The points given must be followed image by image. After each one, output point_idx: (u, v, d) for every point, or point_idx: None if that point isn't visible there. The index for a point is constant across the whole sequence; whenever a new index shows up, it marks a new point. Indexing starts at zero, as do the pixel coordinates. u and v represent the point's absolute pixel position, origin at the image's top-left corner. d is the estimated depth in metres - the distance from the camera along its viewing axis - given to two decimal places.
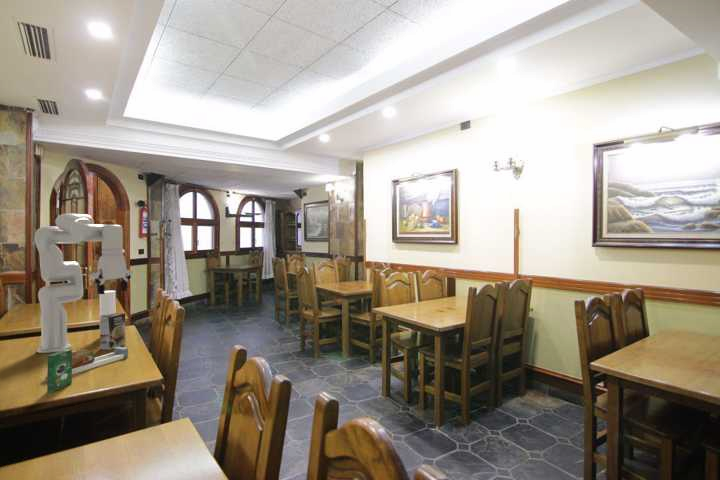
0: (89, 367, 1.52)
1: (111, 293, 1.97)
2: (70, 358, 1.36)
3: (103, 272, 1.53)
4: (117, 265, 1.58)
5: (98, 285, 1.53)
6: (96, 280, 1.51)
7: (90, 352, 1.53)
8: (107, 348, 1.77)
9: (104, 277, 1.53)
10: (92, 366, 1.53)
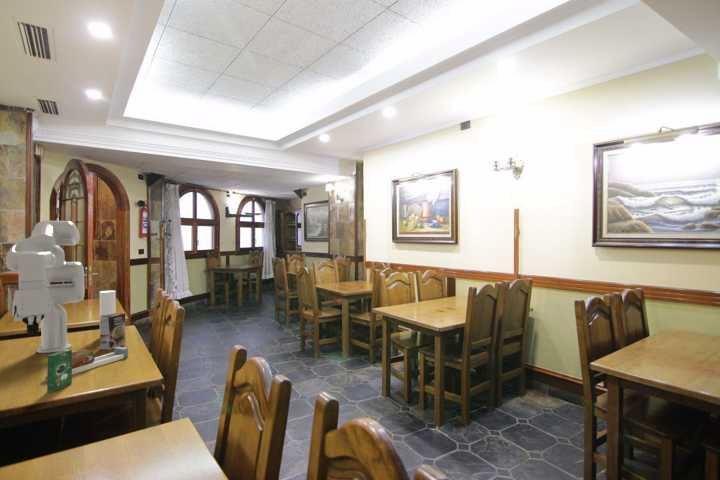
0: (89, 367, 1.52)
1: (111, 293, 1.97)
2: (70, 358, 1.36)
3: (21, 315, 1.32)
4: (37, 299, 1.36)
5: (27, 325, 1.35)
6: (24, 320, 1.33)
7: (90, 352, 1.53)
8: (107, 348, 1.77)
9: (19, 315, 1.31)
10: (92, 366, 1.53)
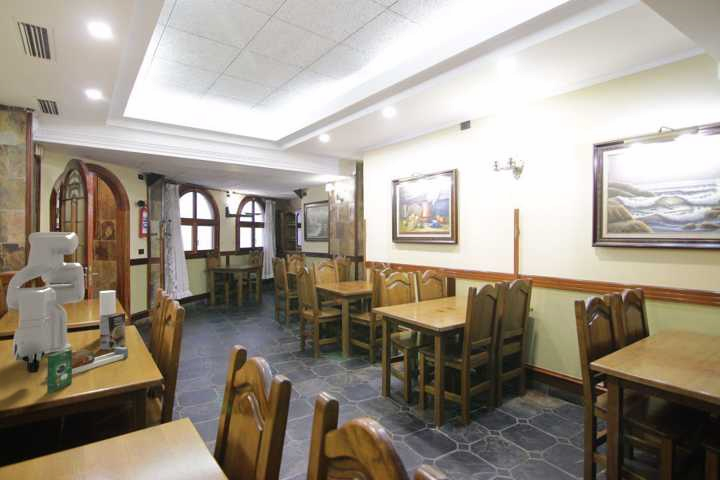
0: (89, 367, 1.52)
1: (111, 293, 1.97)
2: (70, 358, 1.36)
3: (21, 354, 1.32)
4: (38, 337, 1.36)
5: (27, 363, 1.35)
6: (24, 358, 1.33)
7: (90, 352, 1.53)
8: (107, 348, 1.77)
9: (20, 354, 1.31)
10: (92, 366, 1.53)
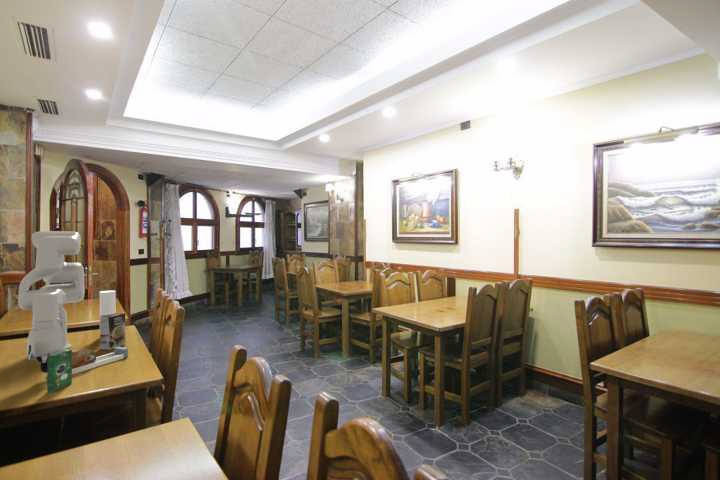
0: (89, 367, 1.52)
1: (111, 293, 1.97)
2: (70, 358, 1.36)
3: (35, 354, 1.36)
4: (51, 338, 1.40)
5: (41, 363, 1.39)
6: (38, 358, 1.37)
7: (92, 351, 1.54)
8: (107, 348, 1.77)
9: (34, 354, 1.35)
10: (92, 366, 1.53)
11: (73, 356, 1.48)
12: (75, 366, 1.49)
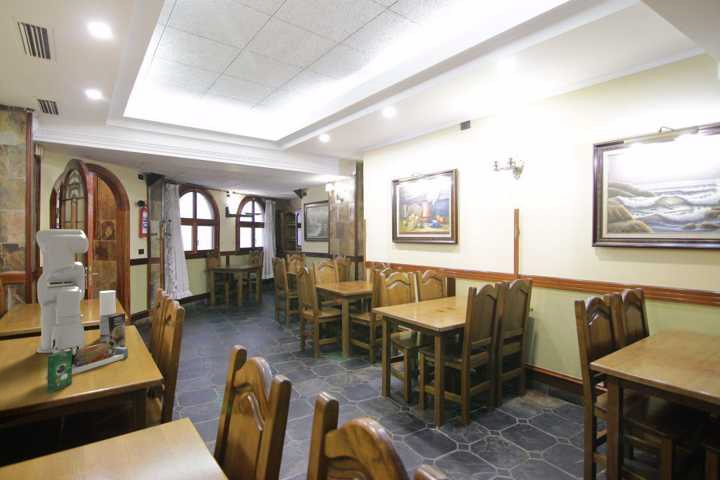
0: (89, 367, 1.52)
1: (111, 293, 1.97)
2: (70, 358, 1.36)
3: (59, 348, 1.43)
4: (73, 333, 1.47)
5: None
6: None
7: (110, 346, 1.61)
8: None
9: (58, 348, 1.42)
10: (92, 366, 1.53)
11: (93, 350, 1.56)
12: (95, 360, 1.56)
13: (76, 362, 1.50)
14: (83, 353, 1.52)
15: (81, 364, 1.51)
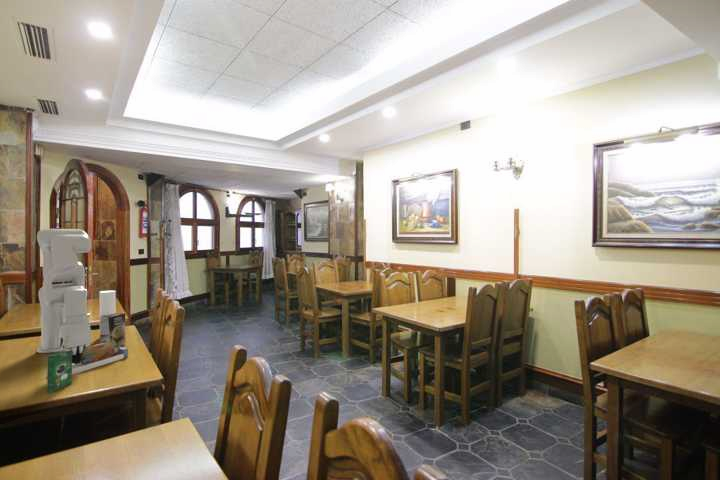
0: (89, 367, 1.52)
1: (111, 293, 1.97)
2: (70, 358, 1.36)
3: (66, 346, 1.45)
4: (80, 332, 1.49)
5: None
6: None
7: (116, 344, 1.64)
8: None
9: (65, 346, 1.45)
10: (92, 366, 1.53)
11: (99, 349, 1.58)
12: (101, 358, 1.58)
13: (83, 360, 1.52)
14: (90, 351, 1.55)
15: (88, 362, 1.54)
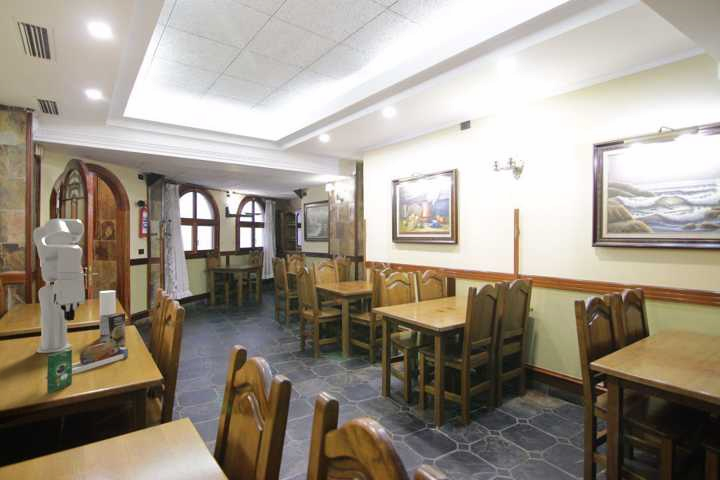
0: (89, 367, 1.52)
1: (111, 293, 1.97)
2: (70, 358, 1.36)
3: (59, 302, 1.46)
4: (74, 289, 1.50)
5: (65, 311, 1.49)
6: (62, 307, 1.48)
7: (116, 345, 1.64)
8: None
9: (59, 302, 1.45)
10: (92, 366, 1.53)
11: (99, 349, 1.58)
12: (101, 358, 1.58)
13: (83, 360, 1.52)
14: (90, 351, 1.55)
15: (88, 363, 1.54)
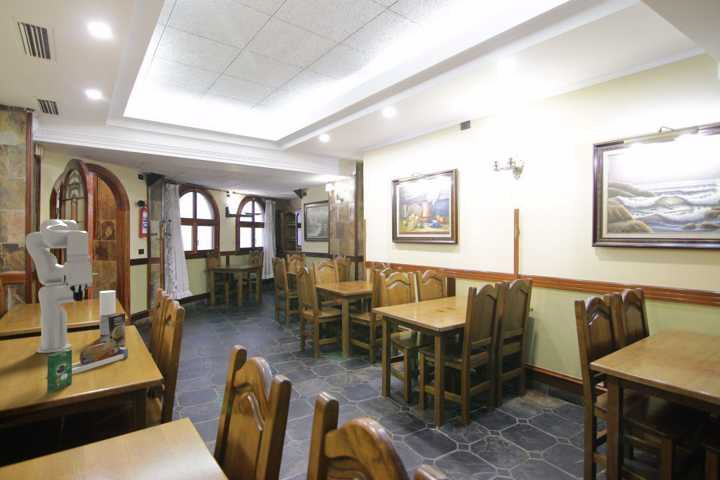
0: (89, 367, 1.52)
1: (111, 293, 1.97)
2: (70, 358, 1.36)
3: (69, 283, 1.55)
4: (82, 271, 1.59)
5: (74, 292, 1.58)
6: (72, 287, 1.57)
7: (116, 345, 1.64)
8: None
9: (68, 283, 1.54)
10: (92, 366, 1.53)
11: (99, 349, 1.58)
12: (101, 358, 1.58)
13: (83, 360, 1.52)
14: (90, 351, 1.55)
15: (88, 363, 1.54)
